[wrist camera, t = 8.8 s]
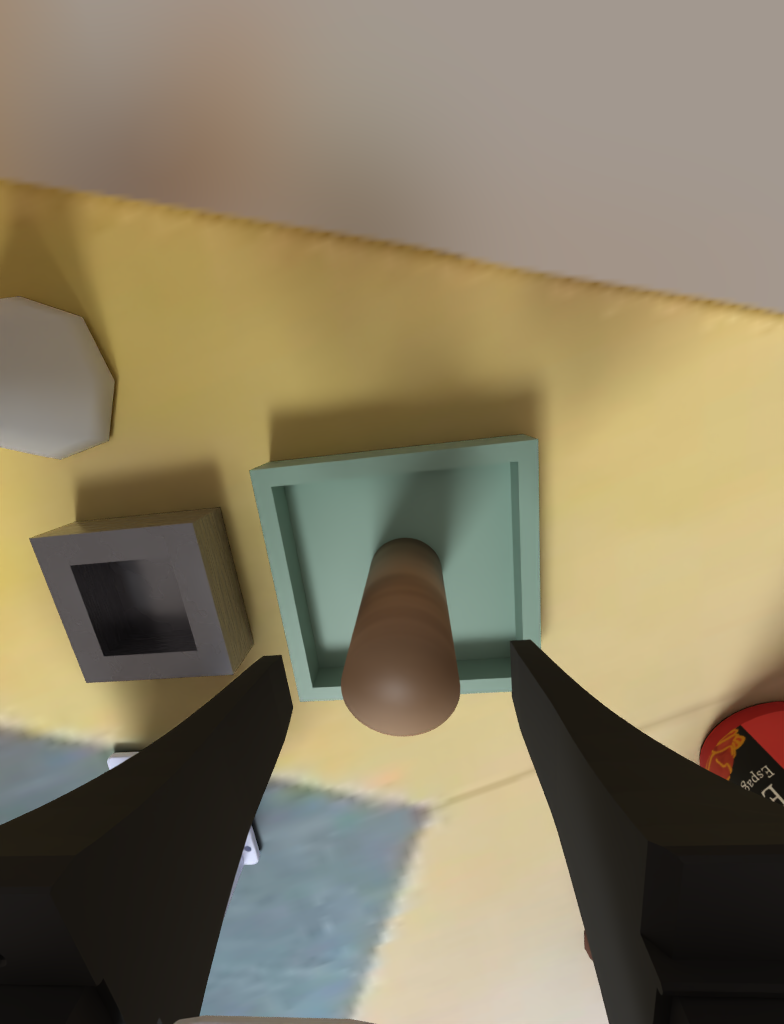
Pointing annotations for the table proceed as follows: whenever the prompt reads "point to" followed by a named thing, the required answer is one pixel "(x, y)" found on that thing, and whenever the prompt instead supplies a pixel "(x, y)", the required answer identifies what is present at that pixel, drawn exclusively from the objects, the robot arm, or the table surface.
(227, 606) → the square metal dish
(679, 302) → the table surface
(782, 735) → the canned food
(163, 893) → the robot arm
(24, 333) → the flask
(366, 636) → the pin
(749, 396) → the table surface
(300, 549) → the tray
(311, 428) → the table surface
